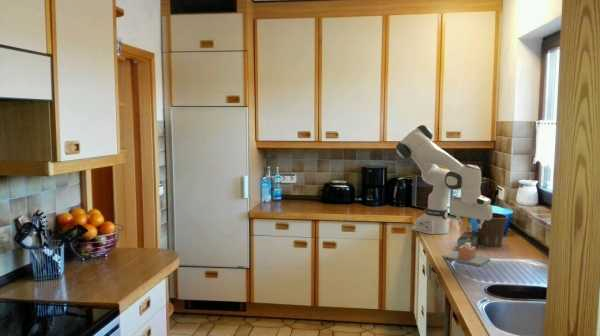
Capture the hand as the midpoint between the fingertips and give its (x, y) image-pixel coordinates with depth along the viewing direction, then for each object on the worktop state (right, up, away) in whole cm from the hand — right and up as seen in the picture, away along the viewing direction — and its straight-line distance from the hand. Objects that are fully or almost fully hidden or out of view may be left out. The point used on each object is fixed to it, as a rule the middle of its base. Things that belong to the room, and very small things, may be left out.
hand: (469, 226), depth 223 cm
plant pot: (+23, -14, +31) cm, 41 cm away
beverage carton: (+8, -14, +25) cm, 30 cm away
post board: (-1, -17, +2) cm, 17 cm away
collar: (-1, -15, +2) cm, 16 cm away
